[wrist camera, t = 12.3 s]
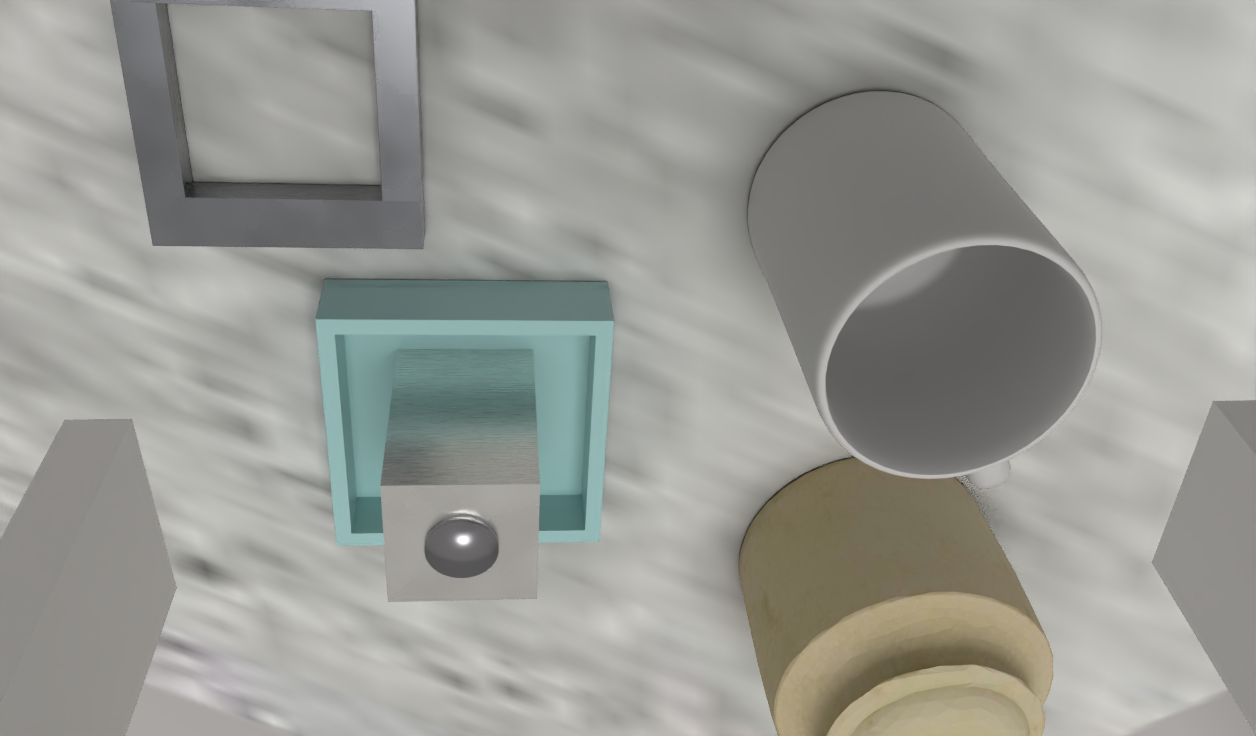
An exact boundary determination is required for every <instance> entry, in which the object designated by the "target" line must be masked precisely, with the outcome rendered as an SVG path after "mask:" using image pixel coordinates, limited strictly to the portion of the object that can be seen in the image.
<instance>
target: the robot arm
mask: <svg viewBox="0 0 1256 736" xmlns="http://www.w3.org/2000/svg"><path fill="white" fill-rule="evenodd" d="M1152 564H1153V565H1154V567H1155V569H1156V570H1157V572H1158V574H1159V575H1160V577H1161V579H1162V580H1163V582H1164V584H1165V585H1166V587H1167V589H1168V590H1169V592H1170V594H1171V595H1172V597H1173V599H1174V600H1175V602H1176V604H1177V605H1178V607H1179V609H1180V610H1181V612H1182V614H1183V615H1184V617H1185V619H1186V620H1187V622H1188V624H1189V625H1190V627H1191V629H1192V630H1193V632H1194V634H1195V635H1196V637H1197V639H1198V640H1199V642H1200V644H1201V645H1202V647H1203V649H1204V650H1205V652H1206V653H1207V655H1208V657H1209V658H1210V660H1211V662H1212V663H1213V665H1214V667H1215V668H1216V670H1217V672H1218V673H1219V675H1220V677H1221V678H1222V680H1223V682H1224V683H1225V685H1226V687H1227V688H1228V690H1229V692H1230V693H1231V695H1232V697H1233V698H1234V700H1235V702H1236V703H1237V705H1238V707H1239V708H1240V710H1241V712H1242V713H1243V715H1244V717H1245V718H1246V720H1247V722H1248V723H1249V725H1250V727H1251V728H1252V730H1253V732H1254V733H1255V735H1256V400H1251V401H1213V403H1212V406H1211V408H1210V411H1209V414H1208V416H1207V419H1206V421H1205V424H1204V427H1203V429H1202V432H1201V435H1200V437H1199V440H1198V442H1197V445H1196V448H1195V450H1194V453H1193V456H1192V458H1191V461H1190V464H1189V466H1188V469H1187V471H1186V474H1185V477H1184V479H1183V482H1182V485H1181V487H1180V490H1179V492H1178V495H1177V498H1176V500H1175V503H1174V506H1173V508H1172V511H1171V513H1170V516H1169V519H1168V521H1167V524H1166V527H1165V529H1164V532H1163V535H1162V537H1161V540H1160V542H1159V545H1158V548H1157V550H1156V553H1155V556H1154V558H1153V561H1152ZM176 588H177V587H176V583H175V579H174V576H173V572H172V568H171V564H170V561H169V557H168V553H167V549H166V545H165V542H164V538H163V534H162V530H161V527H160V523H159V519H158V515H157V512H156V508H155V504H154V500H153V497H152V493H151V489H150V485H149V482H148V478H147V474H146V470H145V466H144V463H143V459H142V455H141V451H140V448H139V444H138V440H137V436H136V433H135V429H134V425H133V421H132V419H94V420H64V422H63V424H62V426H61V428H60V429H59V431H58V433H57V435H56V437H55V439H54V441H53V442H52V444H51V446H50V448H49V450H48V452H47V454H46V455H45V457H44V459H43V461H42V463H41V465H40V467H39V468H38V470H37V472H36V474H35V476H34V478H33V480H32V481H31V483H30V485H29V487H28V489H27V491H26V493H25V494H24V496H23V498H22V500H21V502H20V504H19V506H18V507H17V509H16V511H15V513H14V515H13V517H12V519H11V520H10V522H9V524H8V526H7V528H6V530H5V532H4V533H3V535H2V537H1V539H0V736H125V735H126V733H127V730H128V727H129V724H130V721H131V718H132V715H133V712H134V709H135V706H136V704H137V701H138V698H139V694H140V692H141V689H142V686H143V683H144V680H145V678H146V675H147V672H148V669H149V666H150V663H151V660H152V657H153V654H154V652H155V649H156V646H157V643H158V640H159V637H160V634H161V631H162V628H163V625H164V623H165V620H166V617H167V614H168V611H169V608H170V605H171V602H172V599H173V597H174V594H175V591H176Z"/></svg>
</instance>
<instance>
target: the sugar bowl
mask: <svg viewBox="0 0 1256 736" xmlns="http://www.w3.org/2000/svg"><path fill="white" fill-rule="evenodd" d="M739 573H740V580H741V587H742V591H743V596H744V600H745V605H746V610H747V615H748V619H749V624H750V629H751V634H752V639H753V643H754V647H755V652H756V657H757V662H758V666H759V670H760V674H761V678H762V681H763V685H764V689H765V693H766V697H767V700H768V704H769V708H770V712H771V716H772V719H773V722H774V725H775V728H776V731H777V734H778V736H1042V734H1043V731H1044V727H1045V712H1044V710H1043V708H1042V706H1043V704H1044V702H1045V700H1046V698H1047V696H1048V693H1049V691H1050V687H1051V683H1052V679H1053V655H1052V651H1051V648H1050V645H1049V642H1048V640H1047V638H1046V636H1045V634H1044V632H1043V629H1042V627H1041V625H1040V623H1039V621H1038V619H1037V617H1036V615H1035V613H1034V610H1033V608H1032V606H1031V604H1030V602H1029V600H1028V598H1027V596H1026V594H1025V592H1024V590H1023V588H1022V586H1021V584H1020V582H1019V580H1018V577H1017V575H1016V573H1015V572H1014V570H1013V568H1012V566H1011V564H1010V562H1009V561H1008V559H1007V557H1006V555H1005V553H1004V551H1003V550H1002V548H1001V546H1000V544H999V543H998V541H997V539H996V537H995V536H994V534H993V532H992V530H991V529H990V527H989V525H988V523H987V522H986V520H985V518H984V516H983V514H982V513H981V511H980V509H979V507H978V505H977V503H976V502H975V500H974V498H973V497H972V496H971V494H970V493H969V491H968V490H967V488H966V487H965V486H963V485H962V484H961V483H960V482H959V481H958V480H957V479H956V478H954V477H950V478H937V479H921V478H909V477H903V476H898V475H893V474H890V473H887V472H883V471H880V470H878V469H876V468H873V467H871V466H869V465H867V464H865V463H863V462H862V461H860V460H859V459H857V458H856V457H854V458H849V459H845V460H841V461H837V462H834V463H830V464H827V465H825V466H823V467H820V468H818V469H816V470H813V471H811V472H809V473H807V474H805V475H803V476H801V477H800V478H798V479H797V480H795V481H794V482H792V483H791V484H789V485H788V486H786V487H785V488H783V489H782V490H781V491H780V492H779V493H777V494H776V495H775V496H774V497H773V498H772V499H771V500H769V501H768V502H767V503H766V505H765V506H764V507H763V508H762V509H761V511H760V512H759V513H758V514H757V516H756V517H755V519H754V520H753V522H752V524H751V525H750V527H749V529H748V531H747V533H746V536H745V539H744V542H743V545H742V548H741V552H740V561H739Z"/></svg>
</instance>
